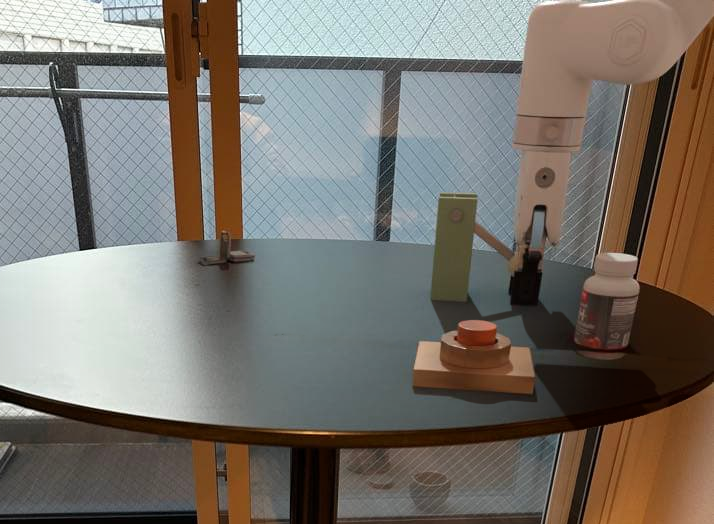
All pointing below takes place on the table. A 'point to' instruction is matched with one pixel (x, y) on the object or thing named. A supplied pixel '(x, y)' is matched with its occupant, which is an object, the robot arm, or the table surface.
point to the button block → (474, 366)
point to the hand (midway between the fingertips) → (522, 299)
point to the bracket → (453, 246)
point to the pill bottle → (607, 306)
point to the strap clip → (227, 253)
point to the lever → (498, 247)
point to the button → (476, 333)
